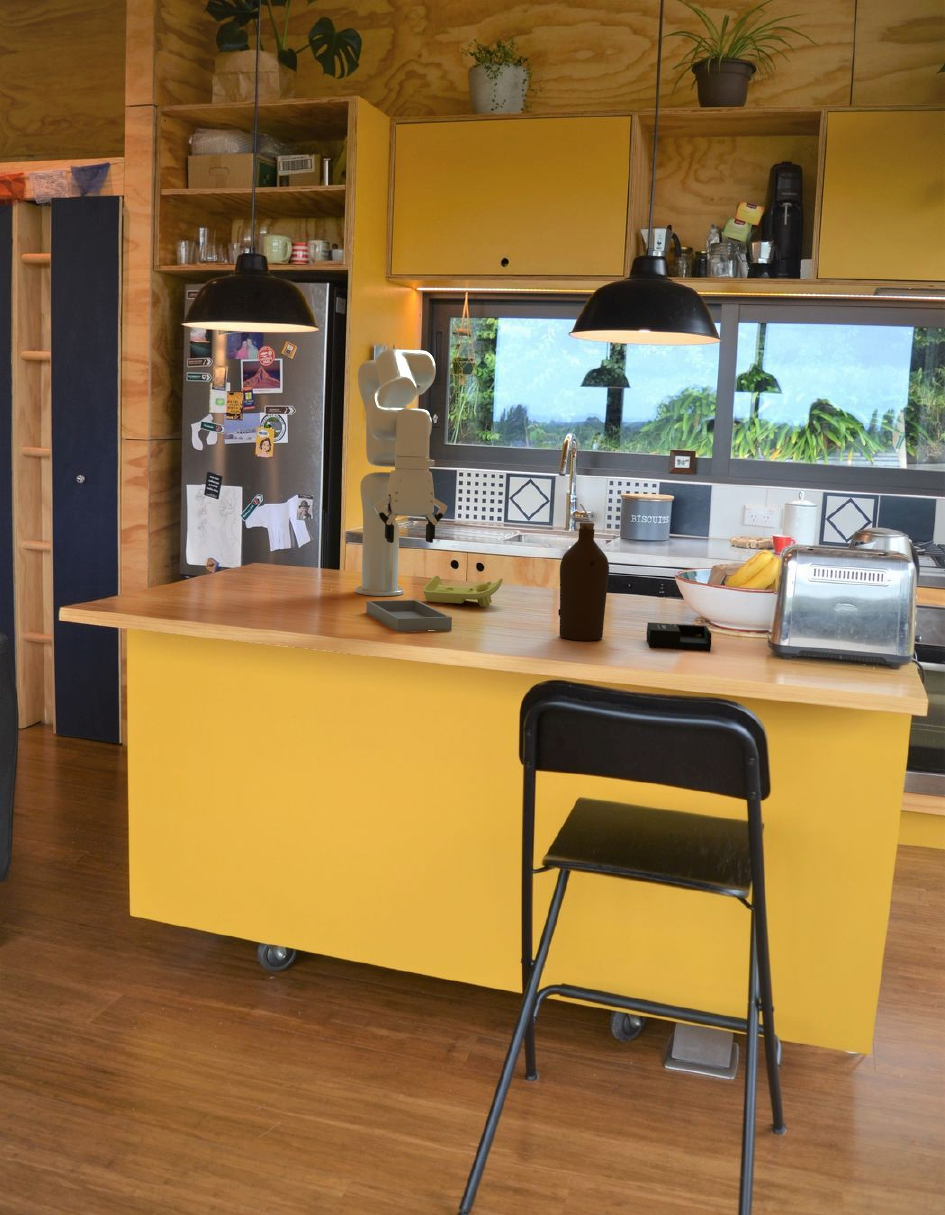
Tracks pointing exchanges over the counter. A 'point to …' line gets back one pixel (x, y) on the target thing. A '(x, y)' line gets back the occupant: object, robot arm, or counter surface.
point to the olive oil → (583, 588)
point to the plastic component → (460, 592)
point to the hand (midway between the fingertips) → (409, 542)
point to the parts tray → (408, 615)
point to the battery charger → (678, 636)
